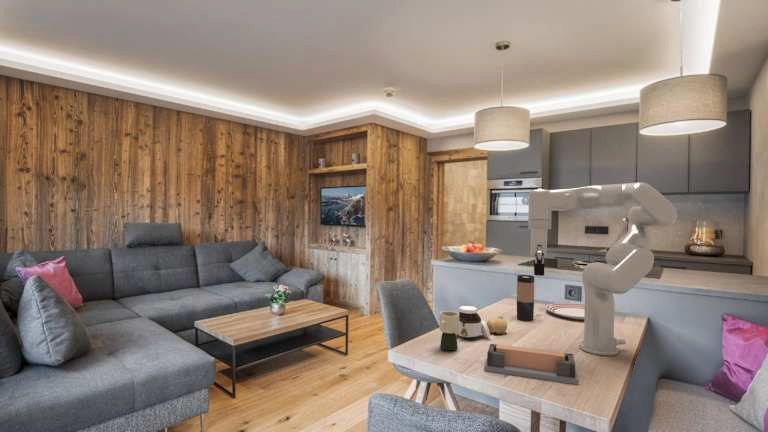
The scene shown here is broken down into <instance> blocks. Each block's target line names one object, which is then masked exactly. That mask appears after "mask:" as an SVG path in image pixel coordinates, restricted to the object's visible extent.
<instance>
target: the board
mask: <svg viewBox="0 0 768 432" xmlns="http://www.w3.org/2000/svg"><path fill="white" fill-rule="evenodd" d="M483 368H484V369H483V370H484V372H487V373H488V372H490V373H494V374H495V373H496V374H503V375H509V376H515V377H516V376H517V377H523V378H530V379H536V380H542V381H549V382H556V383H562V384H569V385H574V386H575V385H579V381H580V380H579V375H578V373H577V369H576V367H575V378H571V377H564V376H558V375H556V372H554V371H547V370H539V369H532V368H525V367H518V366H511V365H504V368H502V367H495V366H488V365H487V358H486V359H485V364H484V367H483Z"/></svg>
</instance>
